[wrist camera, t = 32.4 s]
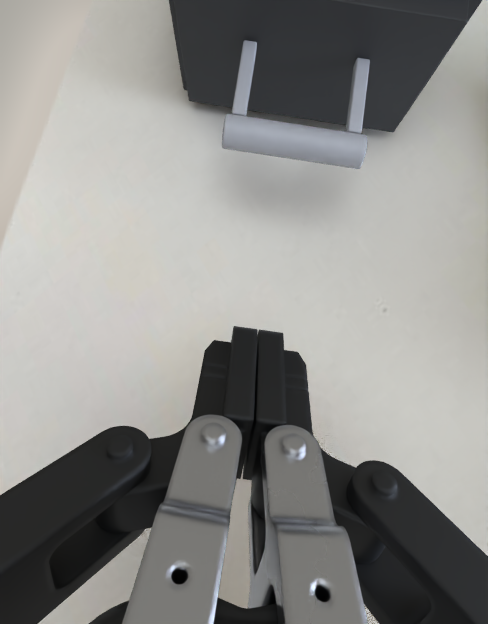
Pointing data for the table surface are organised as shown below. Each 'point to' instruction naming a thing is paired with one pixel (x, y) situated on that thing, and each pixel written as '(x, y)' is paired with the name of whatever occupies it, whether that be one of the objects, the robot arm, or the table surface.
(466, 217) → the table surface
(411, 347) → the table surface
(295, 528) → the robot arm
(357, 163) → the drawer
